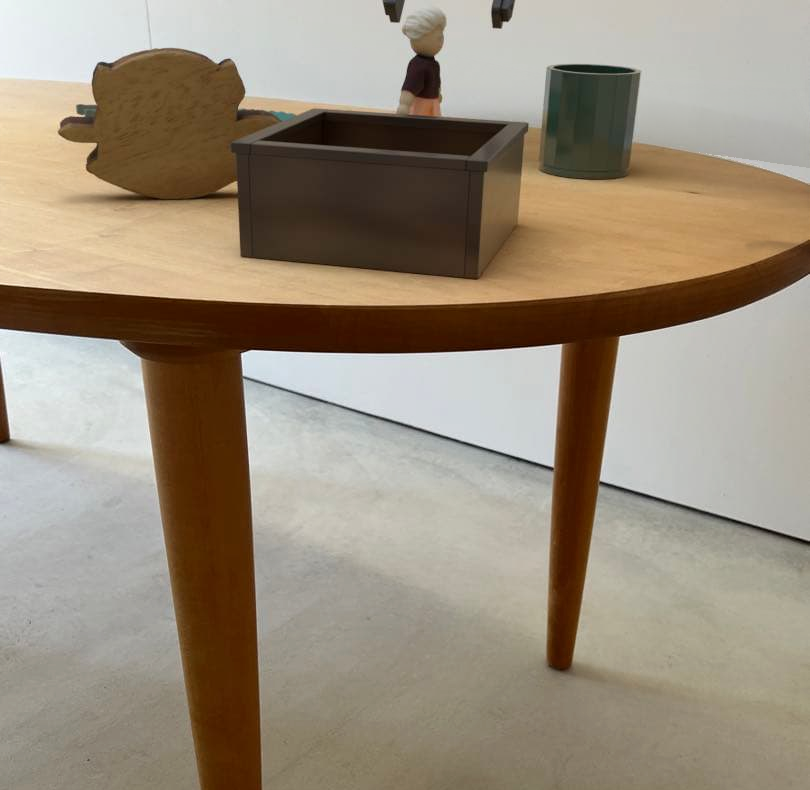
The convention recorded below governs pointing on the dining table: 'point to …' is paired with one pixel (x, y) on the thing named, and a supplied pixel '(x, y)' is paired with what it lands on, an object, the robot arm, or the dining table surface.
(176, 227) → the dining table surface
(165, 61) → the wooden carving
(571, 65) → the cup
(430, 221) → the dark wooden storage bin
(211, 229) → the dining table surface
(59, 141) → the dining table surface
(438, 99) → the grandmother figurine
